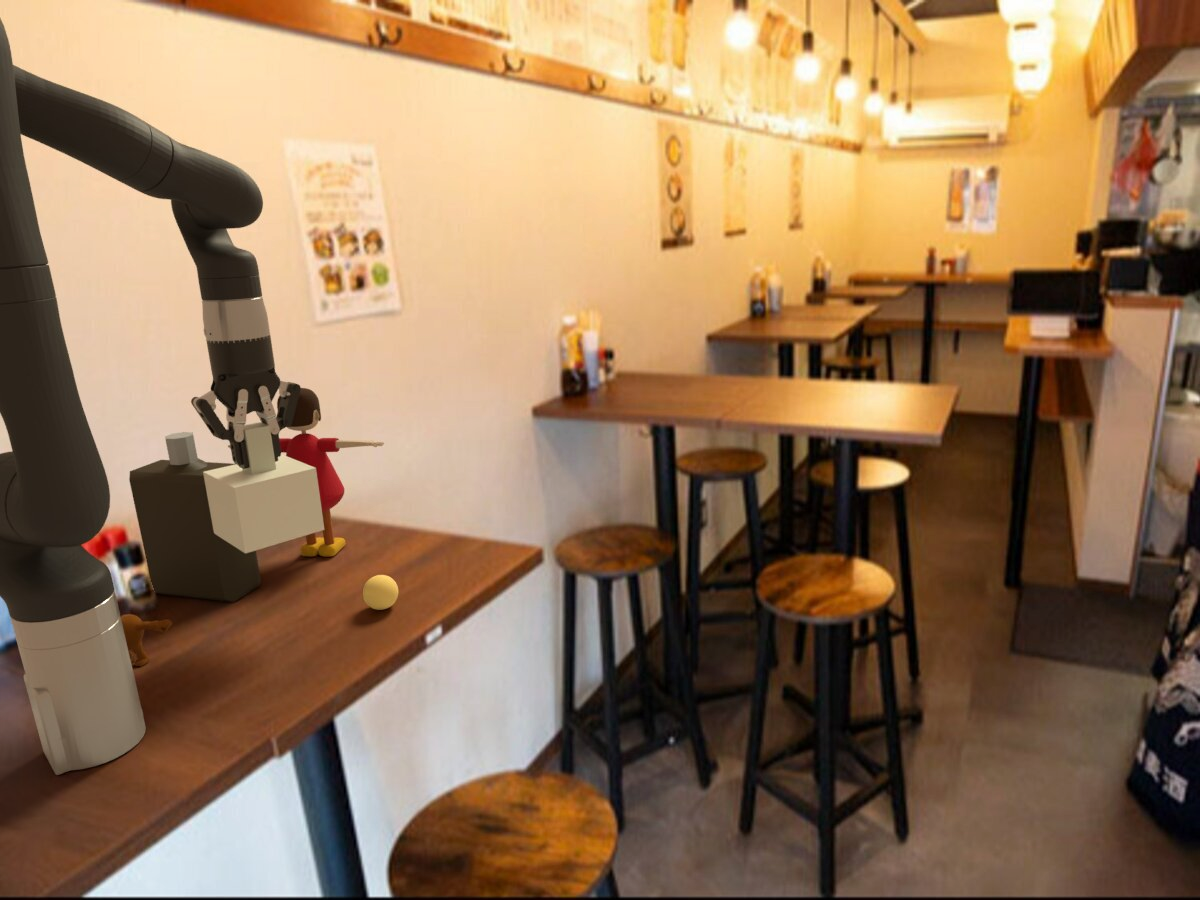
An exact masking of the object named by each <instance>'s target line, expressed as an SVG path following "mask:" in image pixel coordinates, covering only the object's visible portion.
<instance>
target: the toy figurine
mask: <svg viewBox="0 0 1200 900" xmlns="http://www.w3.org/2000/svg"><path fill="white" fill-rule="evenodd" d="M120 617H121V621H122V625H123V630H124V634H125V638H126V643H127V647H128V652H129V656H130V660H131V664H133V663H134V666H135V667H137V666H140V667H143V666H145V665H147V664H148V663H149V662H150V660H151V659H150V657H149V656H148V654H147V652H146V651H144V646H143V641H142V639H143V637H144V633H145V630H146V631H147V630H151V631H155V632H157V631H158V633H161V634H166V633H167V630H168V629H169V628H170V627H171V626H172V625H173V621H171V620H169V619H166V618H164V619H163V620H153V621H150V620H149V621H148V620H146V621H143V620H142V618H140V617H139V616H138V615H135V614H130V613H127V614H122V615H120ZM131 650H132V651H131ZM133 653H134V654H135V655H136V658H137V659H136V658H135V656H134V654H133ZM135 659H136V660H135ZM146 663H147V664H146Z"/></svg>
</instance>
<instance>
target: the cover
mask: <svg viewBox="0 0 1200 900" xmlns="http://www.w3.org/2000/svg"><path fill="white" fill-rule="evenodd" d="M243 440H244V441H246V448H247V454H248V460H249V468H246V469H242V468H240V467H239V466H238V465H237V464H235V463H234V464H235V465H231V466H226V467H222V468H217V469H213V470H209V471H204V472H203V474H204V480H205V486H206V491H207V497H208V502H209V508H210V514H211V519H212V525H213V530H214V534H216V535H217V536H219V537H221V538H222V539H224V540H225V541H227V542H228V543H230V544H231V545H233V546H234V547H236V548H238V549H239V550H241V551H242V552H244V553H249V552H252V551H255V550H256V551H258V550H262V549H265V548H267V547H268V548H269V547H272V546H275V545H279V544H282V543H284V542H285V543H286V542H288V541H291V540H295V539H299V538H301V537H304V536H305V537H306V535H309V534H312V533H315V534H316V533H319V532H323V530H324V523H323V515H322V508H321V501H320V494H319V486H318V479H317V472H316V468H315V467H312V466H310V465H307V464H305V463H302V462H300V461H297V460H295V459H292V458H290V457H287V456H286V454H283V453H281V456H280V457H278V461H277V462H275V457H274V451H273V444H272V438H271V431H270V426H269V425H267V424H264V423H261V421H260V422H259V421H257V422H253V423H248V424H245V425H244V439H243Z"/></svg>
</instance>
